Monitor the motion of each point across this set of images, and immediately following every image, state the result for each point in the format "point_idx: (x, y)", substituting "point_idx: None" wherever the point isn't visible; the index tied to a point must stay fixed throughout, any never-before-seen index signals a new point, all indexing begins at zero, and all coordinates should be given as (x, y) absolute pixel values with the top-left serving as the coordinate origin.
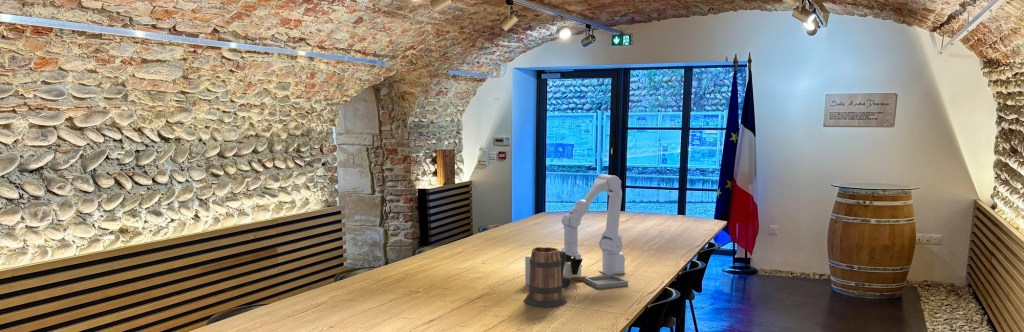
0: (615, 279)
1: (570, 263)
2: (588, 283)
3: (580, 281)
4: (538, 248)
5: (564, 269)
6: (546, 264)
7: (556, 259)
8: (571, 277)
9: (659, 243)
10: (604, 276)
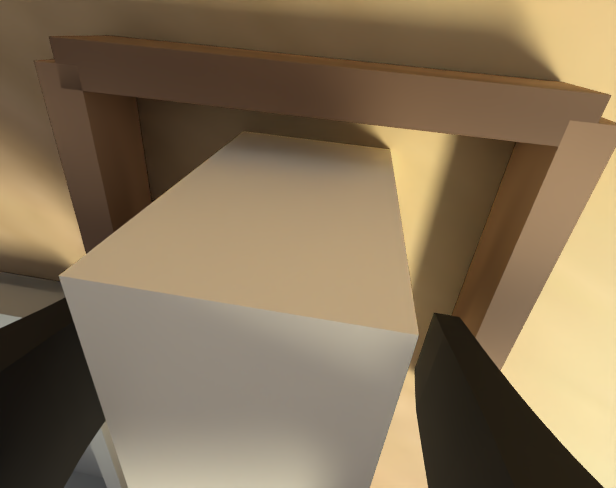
0: (86, 475)
1: (183, 463)
2: (4, 279)
3: None
4: None
5: (156, 203)
6: None
7: None
8: (99, 200)
9: None
10: (105, 467)
